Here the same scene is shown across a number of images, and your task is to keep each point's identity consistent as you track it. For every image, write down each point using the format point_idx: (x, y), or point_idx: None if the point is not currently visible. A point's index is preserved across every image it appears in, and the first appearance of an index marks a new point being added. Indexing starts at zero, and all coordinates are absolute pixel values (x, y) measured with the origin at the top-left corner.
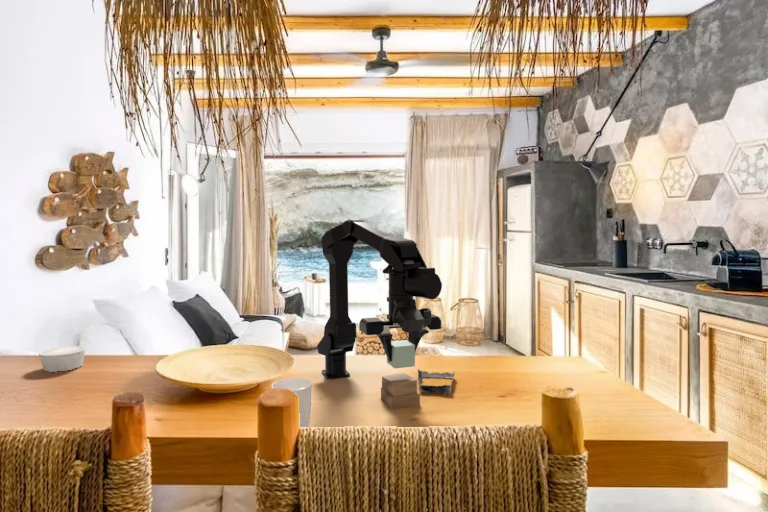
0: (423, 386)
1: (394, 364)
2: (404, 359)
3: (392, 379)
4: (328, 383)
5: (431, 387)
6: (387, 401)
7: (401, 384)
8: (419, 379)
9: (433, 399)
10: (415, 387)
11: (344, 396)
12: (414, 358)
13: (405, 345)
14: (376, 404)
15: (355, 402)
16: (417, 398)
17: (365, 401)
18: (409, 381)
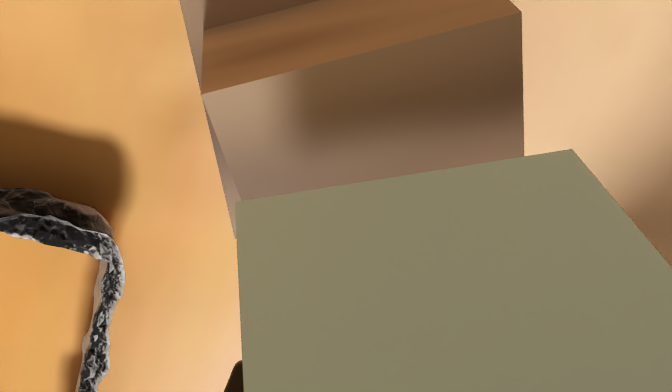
0: (83, 244)
1: (599, 195)
2: (454, 260)
3: (473, 153)
4: None
5: (10, 221)
6: None
7: (415, 28)
8: (96, 352)
9: (22, 49)
10: (219, 51)
11: (653, 215)
12: (248, 294)
13: None
14: (535, 43)
15: (648, 110)
16: None
17: (579, 114)
18: (307, 66)
